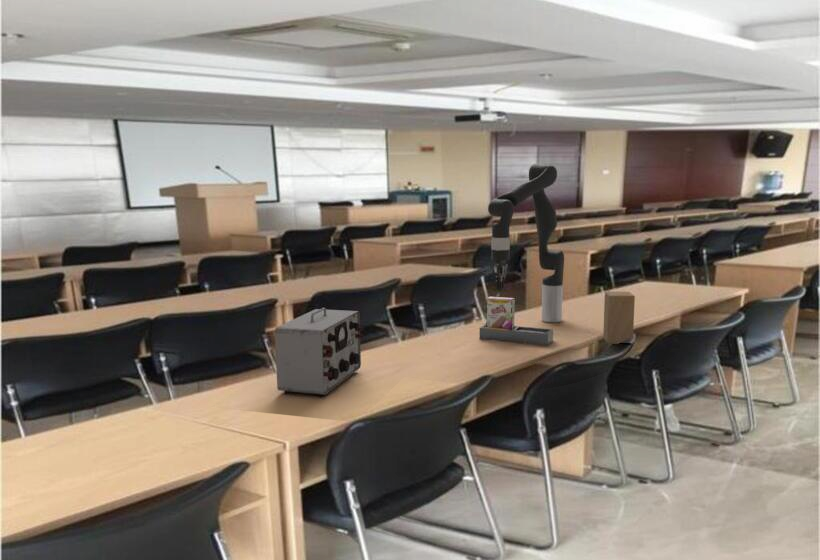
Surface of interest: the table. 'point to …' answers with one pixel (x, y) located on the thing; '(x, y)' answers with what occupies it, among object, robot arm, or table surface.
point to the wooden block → (618, 317)
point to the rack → (518, 335)
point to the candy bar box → (500, 312)
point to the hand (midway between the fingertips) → (500, 289)
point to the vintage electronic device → (317, 351)
